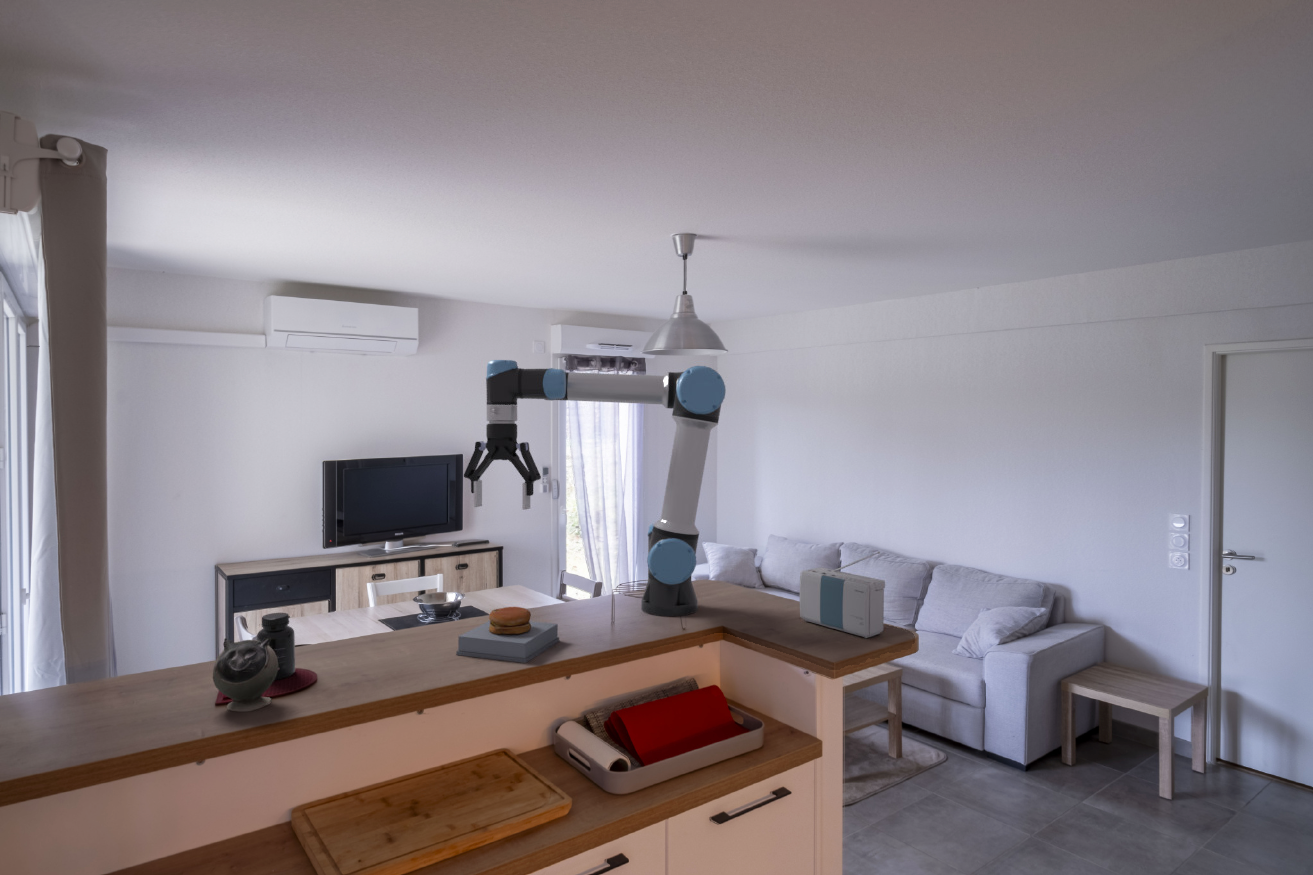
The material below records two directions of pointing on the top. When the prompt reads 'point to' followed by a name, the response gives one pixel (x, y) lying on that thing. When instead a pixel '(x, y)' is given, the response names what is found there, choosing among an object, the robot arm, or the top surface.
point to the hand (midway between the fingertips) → (501, 507)
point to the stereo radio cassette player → (842, 600)
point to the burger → (509, 620)
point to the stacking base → (508, 642)
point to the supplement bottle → (280, 641)
